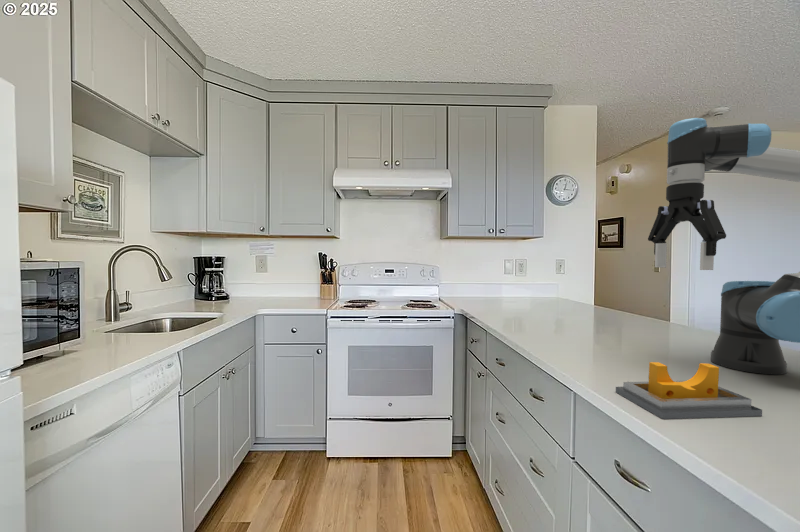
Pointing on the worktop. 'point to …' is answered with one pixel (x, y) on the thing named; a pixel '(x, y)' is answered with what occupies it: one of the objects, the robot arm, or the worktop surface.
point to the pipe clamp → (683, 383)
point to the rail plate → (689, 403)
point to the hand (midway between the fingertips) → (681, 268)
